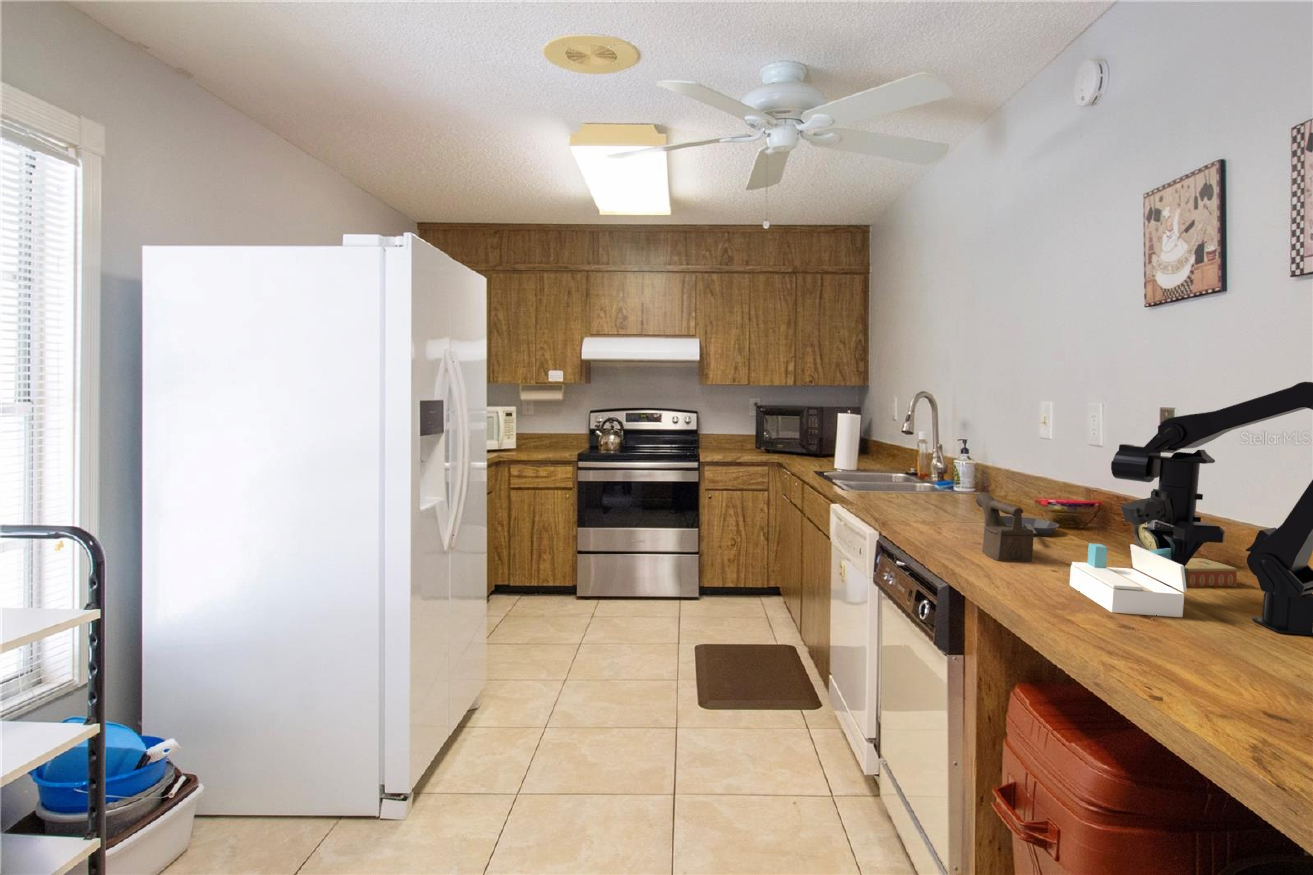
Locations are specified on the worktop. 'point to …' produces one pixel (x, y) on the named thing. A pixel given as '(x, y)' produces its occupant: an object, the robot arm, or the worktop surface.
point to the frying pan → (1033, 525)
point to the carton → (1206, 573)
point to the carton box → (1130, 594)
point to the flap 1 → (1103, 569)
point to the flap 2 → (1159, 566)
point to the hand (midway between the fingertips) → (1170, 570)
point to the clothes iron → (1004, 531)
